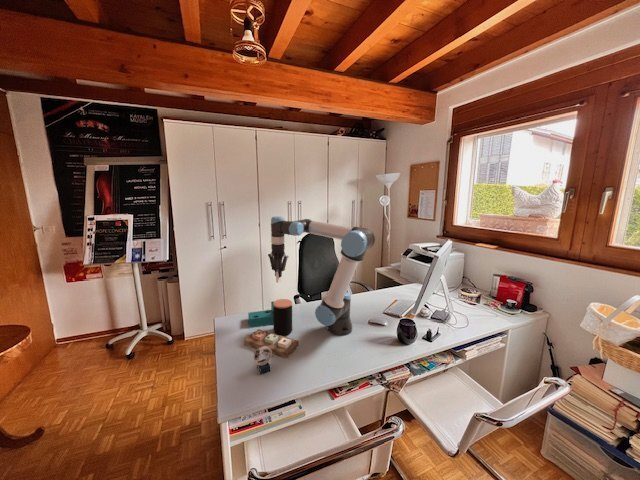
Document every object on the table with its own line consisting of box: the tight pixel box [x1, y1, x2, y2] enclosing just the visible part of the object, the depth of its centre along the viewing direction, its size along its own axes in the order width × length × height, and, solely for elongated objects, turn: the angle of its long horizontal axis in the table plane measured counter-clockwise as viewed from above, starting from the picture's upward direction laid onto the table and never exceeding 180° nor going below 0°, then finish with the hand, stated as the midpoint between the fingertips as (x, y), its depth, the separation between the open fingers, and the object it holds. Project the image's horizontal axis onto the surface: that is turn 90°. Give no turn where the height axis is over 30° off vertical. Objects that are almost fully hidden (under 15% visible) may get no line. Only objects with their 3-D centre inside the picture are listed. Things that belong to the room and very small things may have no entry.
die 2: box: [265, 334, 278, 345], centre depth 137 cm, size 5×5×4 cm
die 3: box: [278, 337, 291, 349], centre depth 134 cm, size 5×5×4 cm
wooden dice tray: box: [243, 329, 300, 360], centre depth 137 cm, size 26×12×3 cm, turn 65°
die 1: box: [251, 329, 266, 341], centre depth 140 cm, size 5×5×4 cm
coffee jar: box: [272, 298, 293, 337], centre depth 149 cm, size 11×11×18 cm
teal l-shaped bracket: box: [247, 301, 274, 328], centre depth 162 cm, size 18×11×10 cm, turn 108°
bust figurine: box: [253, 346, 273, 375], centre depth 118 cm, size 6×8×11 cm
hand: (278, 281), depth 156 cm, fingers closed
